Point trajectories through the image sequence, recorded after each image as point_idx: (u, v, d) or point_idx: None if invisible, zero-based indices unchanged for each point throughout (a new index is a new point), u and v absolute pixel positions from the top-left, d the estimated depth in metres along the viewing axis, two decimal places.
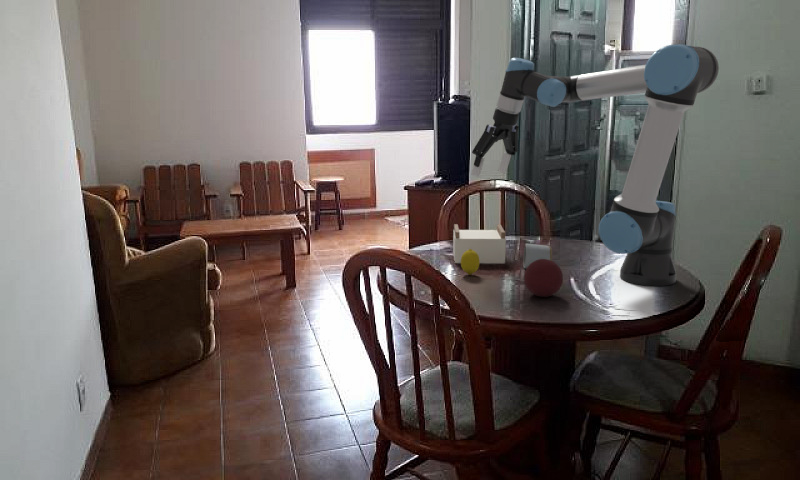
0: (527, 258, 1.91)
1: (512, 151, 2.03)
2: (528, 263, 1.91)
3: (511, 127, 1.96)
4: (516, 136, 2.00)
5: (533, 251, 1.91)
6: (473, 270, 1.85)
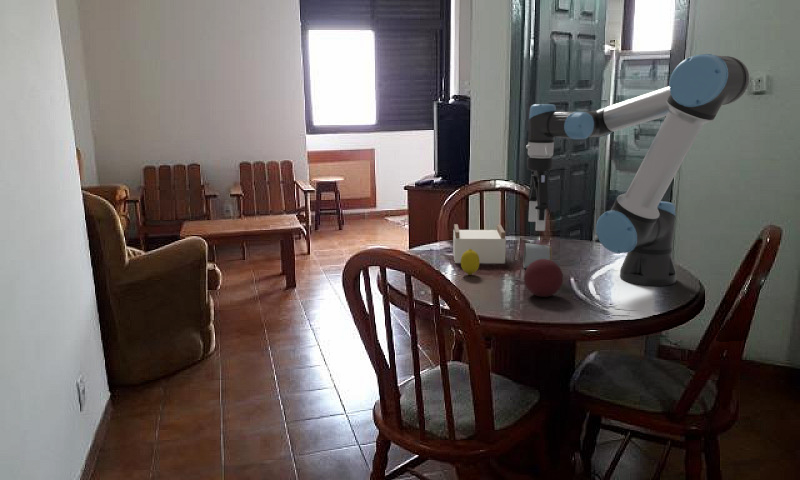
0: (527, 258, 1.91)
1: (537, 197, 1.99)
2: (528, 263, 1.92)
3: None
4: None
5: (533, 251, 1.91)
6: (473, 270, 1.85)
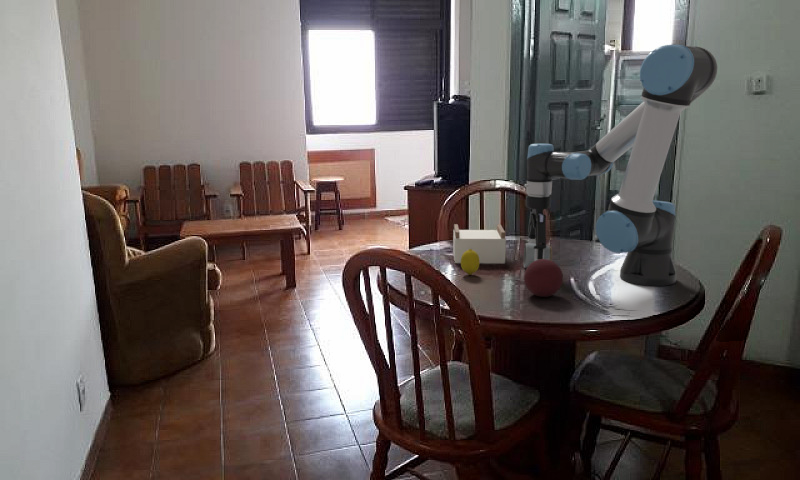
0: (527, 258, 1.91)
1: None
2: (528, 263, 1.92)
3: None
4: None
5: (533, 251, 1.91)
6: (473, 270, 1.85)
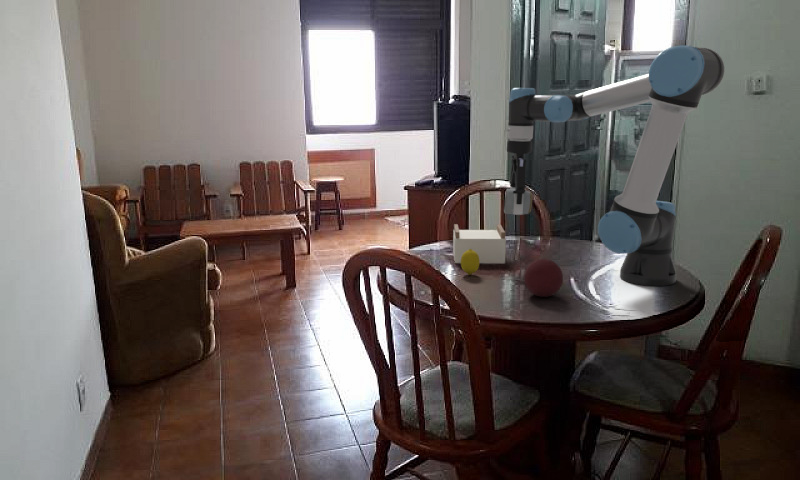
0: (507, 202, 1.91)
1: None
2: (508, 207, 1.92)
3: None
4: None
5: (513, 195, 1.91)
6: (473, 270, 1.85)
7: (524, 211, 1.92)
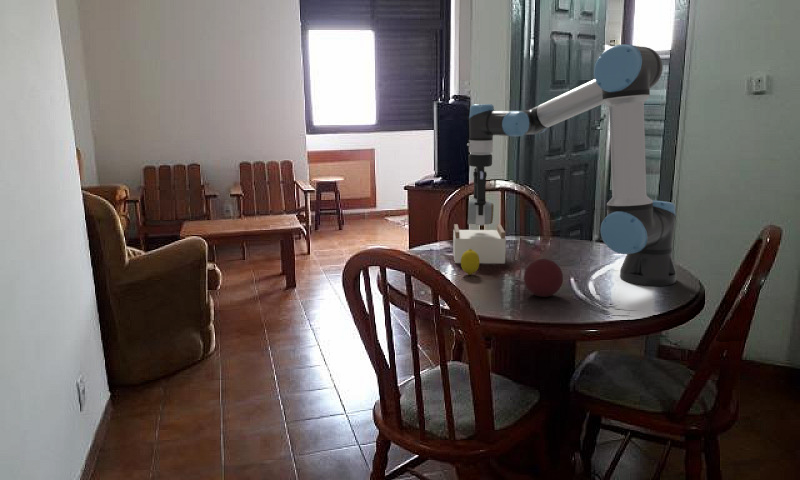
0: (469, 213, 2.00)
1: None
2: (471, 218, 2.00)
3: None
4: None
5: (475, 207, 2.00)
6: (473, 270, 1.85)
7: (486, 221, 2.00)
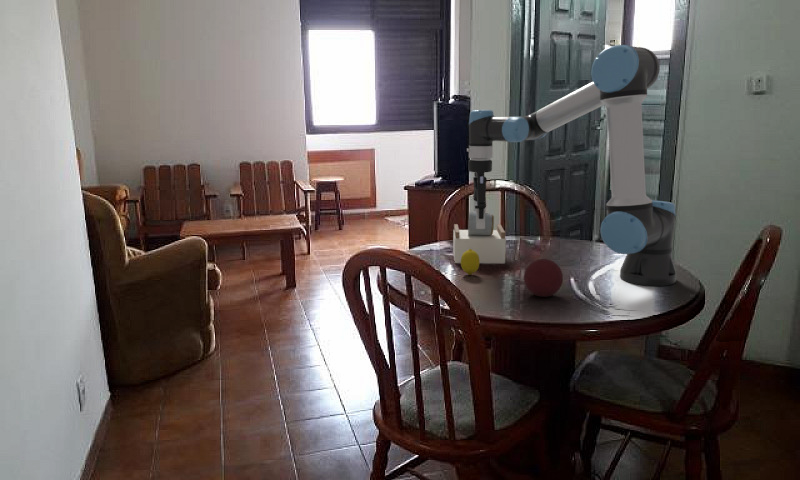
0: (470, 225, 2.00)
1: None
2: (471, 230, 2.01)
3: None
4: None
5: None
6: (473, 270, 1.85)
7: (486, 233, 2.01)
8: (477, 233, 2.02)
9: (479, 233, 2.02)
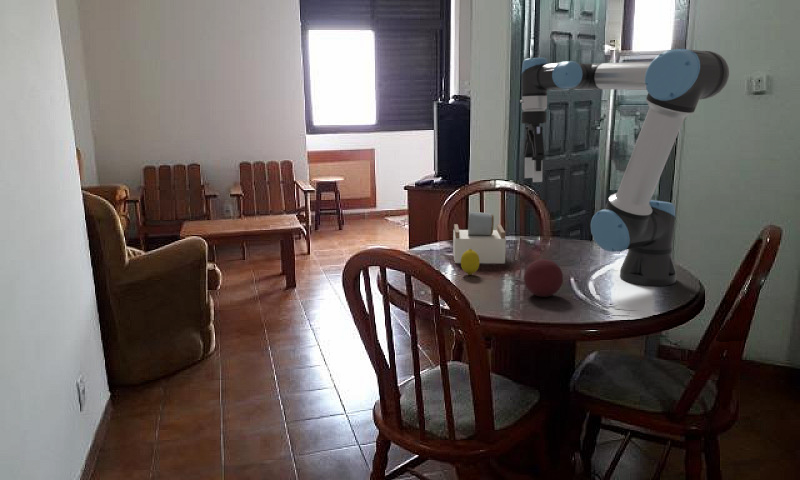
0: (470, 225, 2.00)
1: (532, 153, 2.03)
2: (471, 230, 2.01)
3: None
4: None
5: (476, 218, 2.01)
6: (473, 270, 1.85)
7: (486, 233, 2.01)
8: (477, 233, 2.02)
9: (479, 233, 2.02)
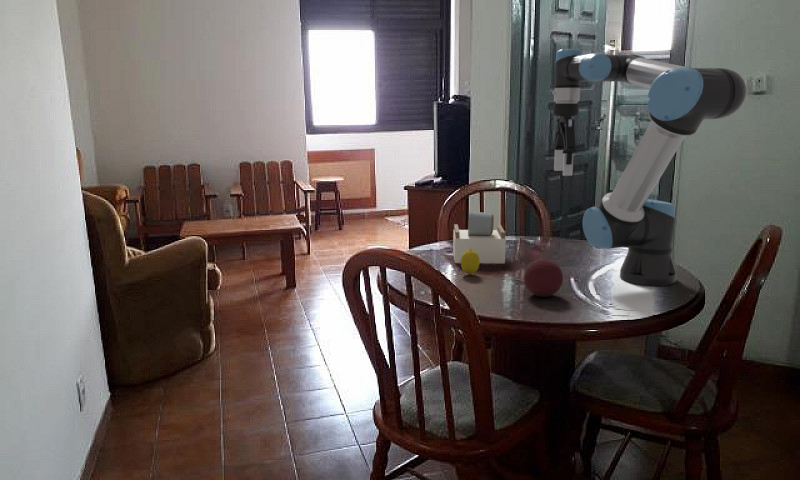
0: (470, 224, 2.01)
1: None
2: (471, 229, 2.01)
3: None
4: None
5: (476, 218, 2.01)
6: (473, 270, 1.85)
7: (486, 232, 2.02)
8: (477, 233, 2.02)
9: (479, 233, 2.02)
